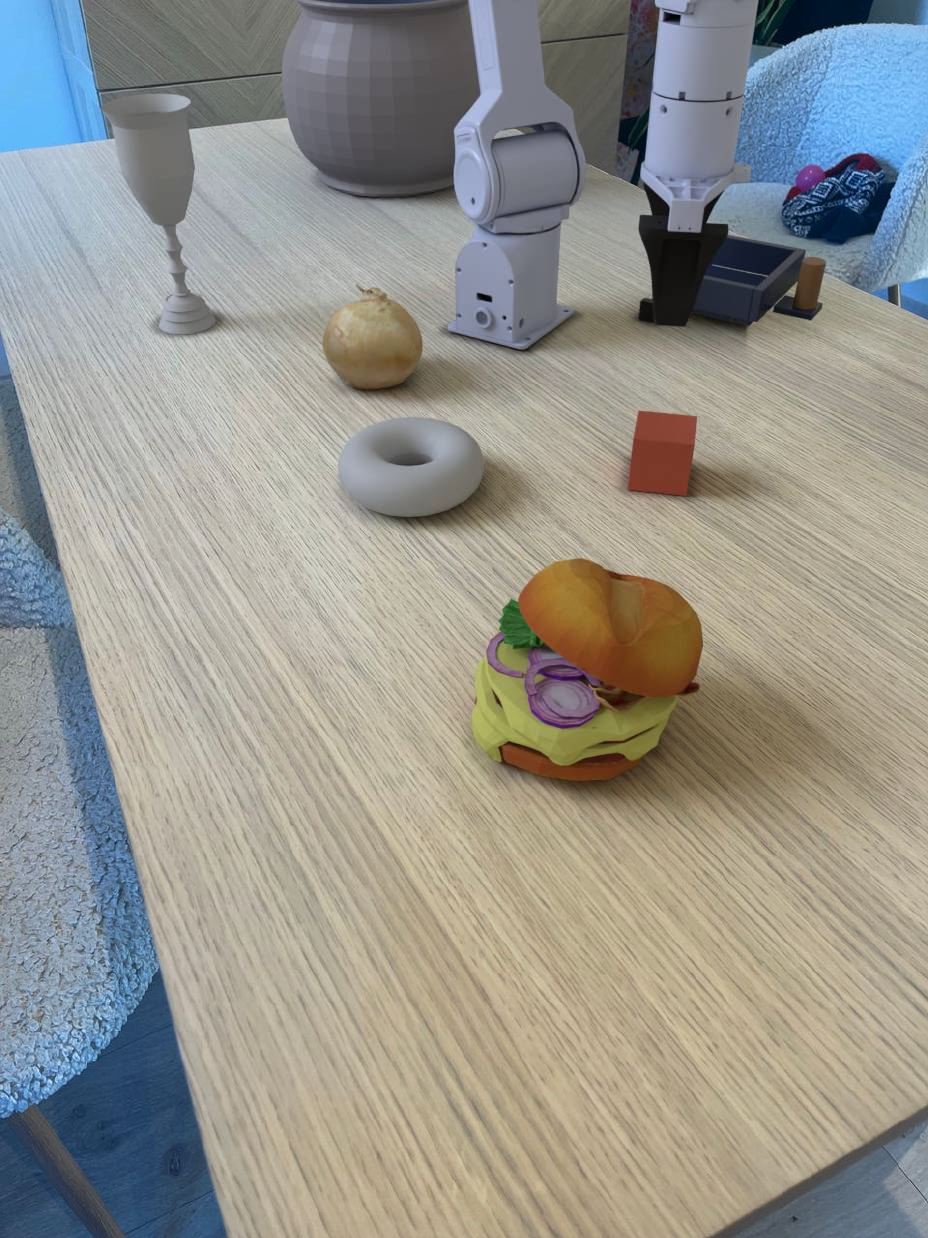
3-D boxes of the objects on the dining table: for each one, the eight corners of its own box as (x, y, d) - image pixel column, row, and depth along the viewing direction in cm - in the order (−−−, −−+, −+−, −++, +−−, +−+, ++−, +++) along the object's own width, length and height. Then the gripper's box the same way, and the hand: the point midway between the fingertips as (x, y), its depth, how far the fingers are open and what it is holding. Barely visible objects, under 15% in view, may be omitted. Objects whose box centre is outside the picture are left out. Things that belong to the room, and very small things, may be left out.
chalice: (206, 342, 88) (167, 117, 77) (134, 336, 89) (84, 113, 78) (237, 309, 94) (205, 95, 82) (169, 303, 95) (127, 91, 83)
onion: (443, 379, 82) (441, 294, 78) (365, 410, 78) (358, 323, 74) (383, 348, 87) (378, 266, 82) (306, 376, 83) (297, 291, 78)
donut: (309, 496, 69) (423, 544, 64) (303, 451, 67) (420, 498, 62) (403, 437, 75) (513, 477, 70) (400, 395, 73) (513, 433, 68)
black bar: (698, 270, 100) (700, 252, 99) (711, 272, 100) (714, 254, 99) (637, 319, 91) (639, 300, 90) (652, 322, 91) (654, 303, 90)
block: (686, 496, 69) (694, 444, 66) (627, 489, 69) (633, 438, 67) (689, 466, 72) (697, 415, 69) (632, 460, 72) (638, 409, 70)
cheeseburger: (429, 688, 54) (468, 526, 49) (595, 670, 59) (647, 521, 53) (513, 824, 47) (570, 650, 41) (694, 791, 51) (767, 631, 46)
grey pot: (263, 164, 129) (240, -18, 117) (437, 138, 138) (433, -33, 126) (338, 221, 112) (321, 16, 100) (531, 187, 121) (538, -5, 109)
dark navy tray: (697, 266, 99) (705, 215, 96) (836, 294, 93) (848, 242, 90) (646, 307, 91) (652, 254, 88) (794, 341, 86) (806, 286, 83)
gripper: (770, 122, 57) (731, 348, 66) (757, 68, 68) (725, 268, 77) (644, 118, 58) (623, 341, 67) (651, 66, 69) (632, 263, 78)
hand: (671, 302), depth 72 cm, fingers open, 7 cm apart
